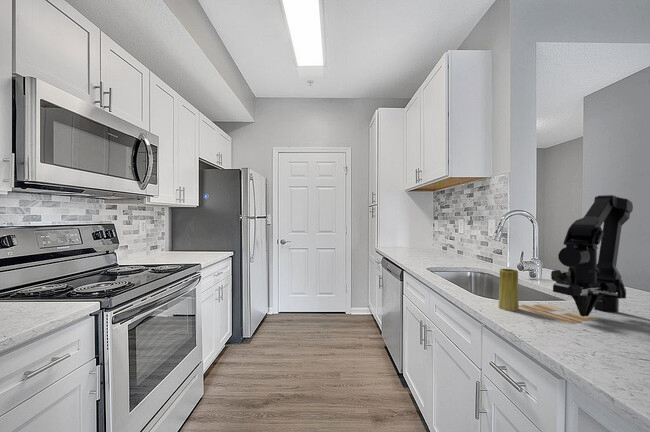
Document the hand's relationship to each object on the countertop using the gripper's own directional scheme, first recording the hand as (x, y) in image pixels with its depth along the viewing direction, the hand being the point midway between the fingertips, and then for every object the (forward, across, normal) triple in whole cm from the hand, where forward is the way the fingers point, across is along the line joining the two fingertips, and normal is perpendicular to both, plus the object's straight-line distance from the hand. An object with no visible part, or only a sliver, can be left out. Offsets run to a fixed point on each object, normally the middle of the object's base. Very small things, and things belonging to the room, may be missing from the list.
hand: (584, 316), depth 101 cm
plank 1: (+2, +1, -12) cm, 12 cm away
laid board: (+2, +8, -6) cm, 11 cm away
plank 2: (+2, +1, -1) cm, 3 cm away
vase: (+2, +14, -14) cm, 20 cm away
